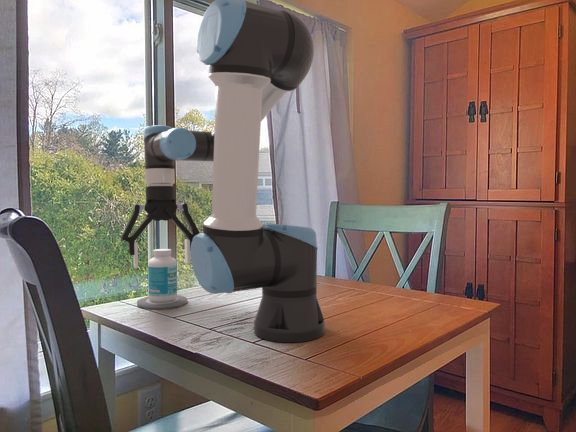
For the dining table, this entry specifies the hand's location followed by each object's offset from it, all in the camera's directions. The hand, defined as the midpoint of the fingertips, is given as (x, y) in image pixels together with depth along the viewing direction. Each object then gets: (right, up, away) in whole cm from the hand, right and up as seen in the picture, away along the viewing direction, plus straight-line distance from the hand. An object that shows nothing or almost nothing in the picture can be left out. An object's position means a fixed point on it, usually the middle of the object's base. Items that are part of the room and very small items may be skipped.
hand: (162, 265), depth 127 cm
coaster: (0, -10, +1) cm, 10 cm away
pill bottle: (0, -9, +1) cm, 10 cm away
